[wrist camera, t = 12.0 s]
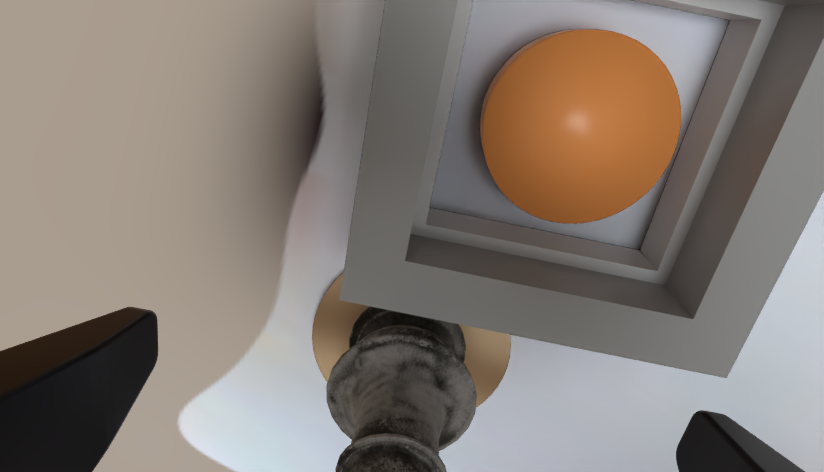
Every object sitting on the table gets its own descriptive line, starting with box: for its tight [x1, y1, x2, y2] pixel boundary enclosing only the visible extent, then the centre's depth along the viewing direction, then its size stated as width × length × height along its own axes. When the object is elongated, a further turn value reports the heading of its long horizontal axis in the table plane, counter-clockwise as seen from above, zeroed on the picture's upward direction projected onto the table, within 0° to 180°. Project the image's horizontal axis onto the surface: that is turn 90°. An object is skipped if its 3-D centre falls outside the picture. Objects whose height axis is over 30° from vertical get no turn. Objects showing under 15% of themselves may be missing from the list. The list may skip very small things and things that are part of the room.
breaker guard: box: [340, 0, 824, 378], centre depth 18 cm, size 14×14×4 cm
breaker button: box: [480, 29, 681, 224], centre depth 19 cm, size 7×7×2 cm
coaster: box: [312, 272, 511, 407], centre depth 24 cm, size 9×9×1 cm
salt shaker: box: [327, 306, 477, 472], centre depth 18 cm, size 6×6×12 cm
